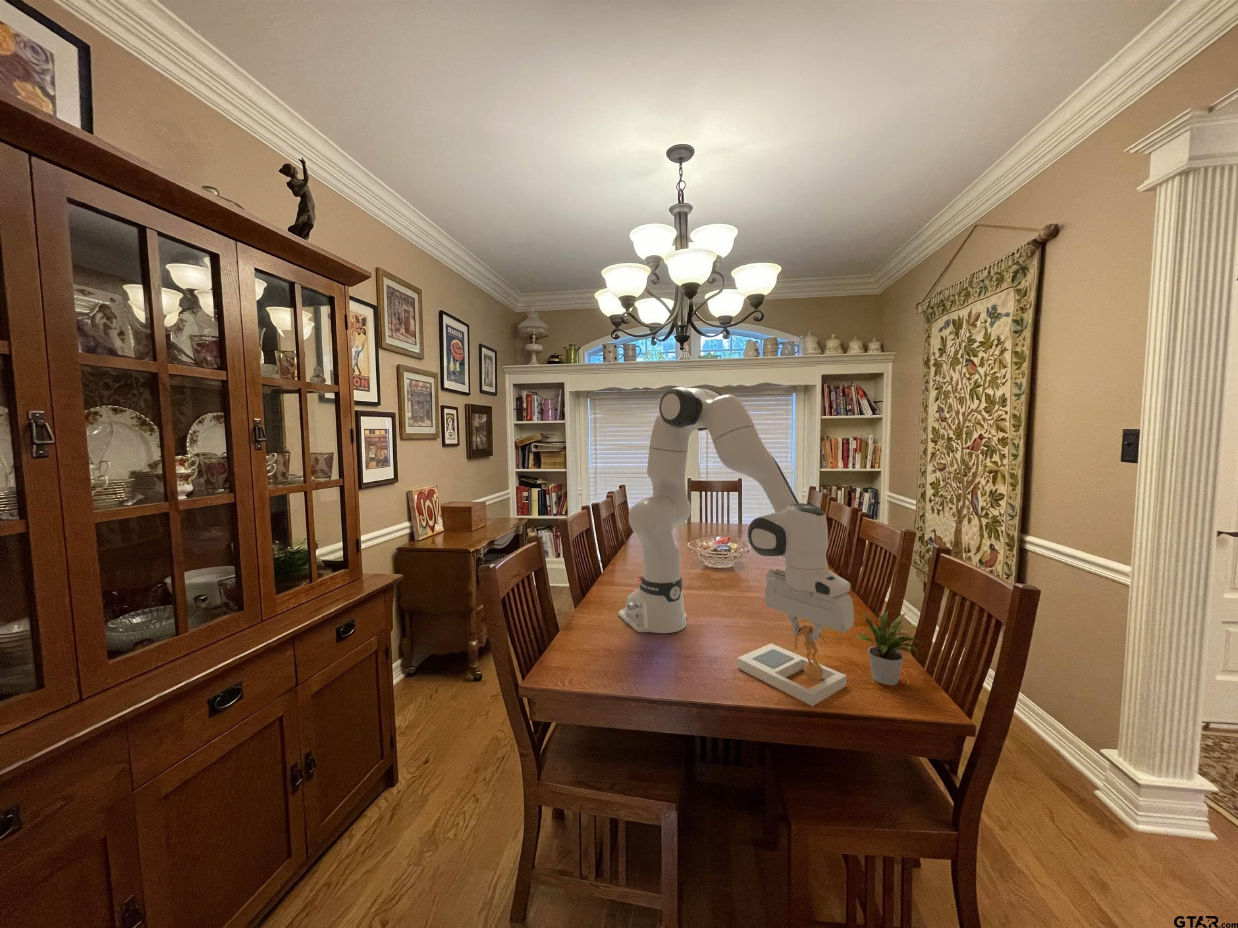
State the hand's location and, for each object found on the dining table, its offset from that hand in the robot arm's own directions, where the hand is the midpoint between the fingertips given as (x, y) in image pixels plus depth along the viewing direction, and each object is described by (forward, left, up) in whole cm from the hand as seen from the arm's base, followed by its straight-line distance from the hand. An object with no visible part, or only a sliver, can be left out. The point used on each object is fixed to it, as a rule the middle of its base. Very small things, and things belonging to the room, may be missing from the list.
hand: (805, 637), depth 105 cm
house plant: (+9, +15, -11) cm, 21 cm away
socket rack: (-4, 0, -11) cm, 12 cm away
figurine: (+1, 0, -9) cm, 9 cm away
